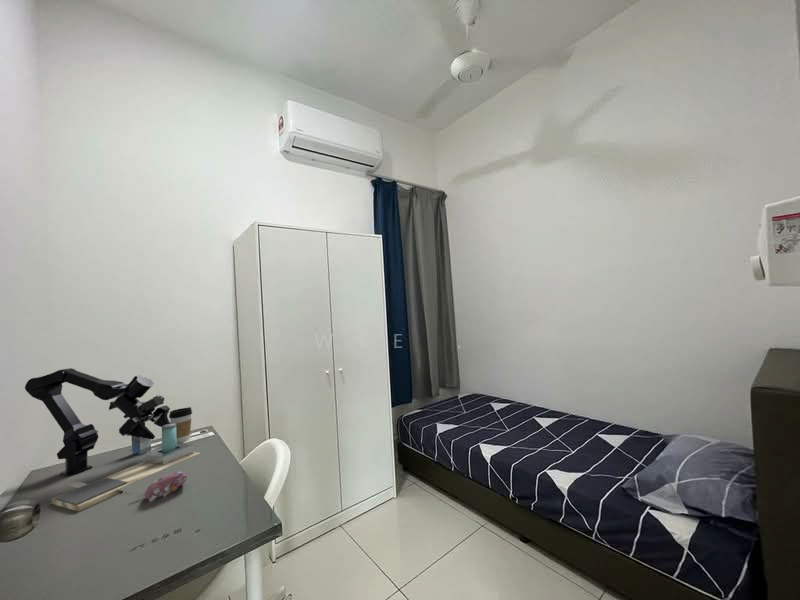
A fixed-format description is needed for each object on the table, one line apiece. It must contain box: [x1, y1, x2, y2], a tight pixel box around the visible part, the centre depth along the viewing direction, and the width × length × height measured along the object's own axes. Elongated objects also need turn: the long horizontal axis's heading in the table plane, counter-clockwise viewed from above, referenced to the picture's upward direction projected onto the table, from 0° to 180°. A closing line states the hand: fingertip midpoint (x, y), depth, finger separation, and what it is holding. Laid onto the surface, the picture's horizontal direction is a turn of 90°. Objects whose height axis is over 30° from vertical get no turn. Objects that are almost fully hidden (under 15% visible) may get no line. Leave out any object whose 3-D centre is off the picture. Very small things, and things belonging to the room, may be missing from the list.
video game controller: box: [144, 471, 188, 500], centre depth 92 cm, size 10×5×7 cm, turn 143°
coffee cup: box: [168, 406, 193, 443], centre depth 134 cm, size 8×8×15 cm
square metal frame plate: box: [143, 442, 195, 466], centre depth 116 cm, size 11×11×3 cm
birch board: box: [51, 451, 200, 513], centre depth 104 cm, size 15×35×2 cm, turn 159°
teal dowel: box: [161, 423, 177, 453], centre depth 116 cm, size 4×4×12 cm
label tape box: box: [130, 436, 152, 455], centre depth 125 cm, size 9×4×12 cm, turn 59°
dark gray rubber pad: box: [53, 477, 127, 505], centre depth 94 cm, size 12×12×1 cm
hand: (163, 433), depth 116 cm, fingers open, 9 cm apart
